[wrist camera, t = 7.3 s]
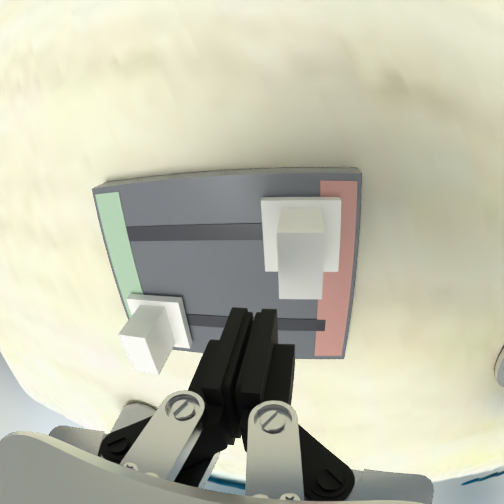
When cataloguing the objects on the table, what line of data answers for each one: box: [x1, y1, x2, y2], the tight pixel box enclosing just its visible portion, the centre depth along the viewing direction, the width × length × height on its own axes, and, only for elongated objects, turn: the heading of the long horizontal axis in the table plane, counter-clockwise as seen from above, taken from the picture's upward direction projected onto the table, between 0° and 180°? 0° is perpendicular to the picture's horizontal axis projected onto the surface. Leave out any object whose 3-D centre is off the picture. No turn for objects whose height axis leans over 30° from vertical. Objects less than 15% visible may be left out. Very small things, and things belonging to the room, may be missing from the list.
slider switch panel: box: [92, 167, 362, 359], centre depth 24 cm, size 20×16×2 cm
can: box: [110, 403, 157, 433], centre depth 33 cm, size 8×8×12 cm
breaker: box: [118, 294, 193, 375], centre depth 24 cm, size 5×5×5 cm
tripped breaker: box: [261, 197, 341, 300], centre depth 18 cm, size 5×5×5 cm
